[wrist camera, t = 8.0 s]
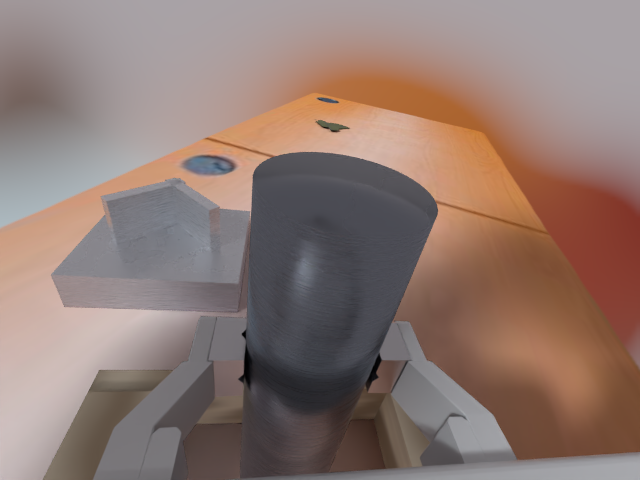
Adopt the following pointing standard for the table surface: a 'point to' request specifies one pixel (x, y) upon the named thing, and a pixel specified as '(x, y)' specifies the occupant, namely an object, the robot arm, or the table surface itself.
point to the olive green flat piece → (331, 125)
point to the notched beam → (206, 422)
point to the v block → (158, 253)
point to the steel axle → (321, 299)
